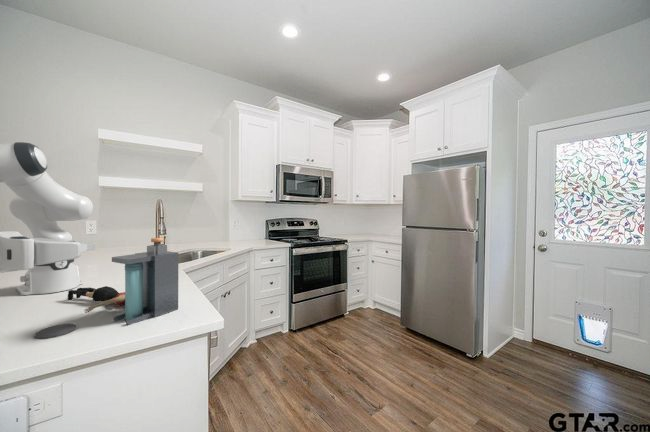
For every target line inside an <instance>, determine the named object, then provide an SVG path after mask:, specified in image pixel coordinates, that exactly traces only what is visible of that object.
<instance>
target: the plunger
mask: <svg viewBox="0 0 650 432" xmlns="http://www.w3.org/2000/svg"><path fill="white" fill-rule="evenodd" d="M150 242H151V243H153V245H154V246H160V244H161V242H164V238H163V237H153V238H151V239H150Z"/></svg>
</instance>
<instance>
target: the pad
mask: <svg viewBox="0 0 650 432" xmlns="http://www.w3.org/2000/svg"><path fill="white" fill-rule="evenodd" d="M76 330H77V324H76V323H68V322H67V323H60V324H55V325H51V326H48V327H44V328H42V329H39V330H38V331H36V332H35V333H34V338H36V339H38V340H39V339H40V340H41V339H42V340H44V339H45V340H46V339H52V338H57V337H60V336H65V335H67V334H69V333H72V332H74V331H76Z"/></svg>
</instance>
